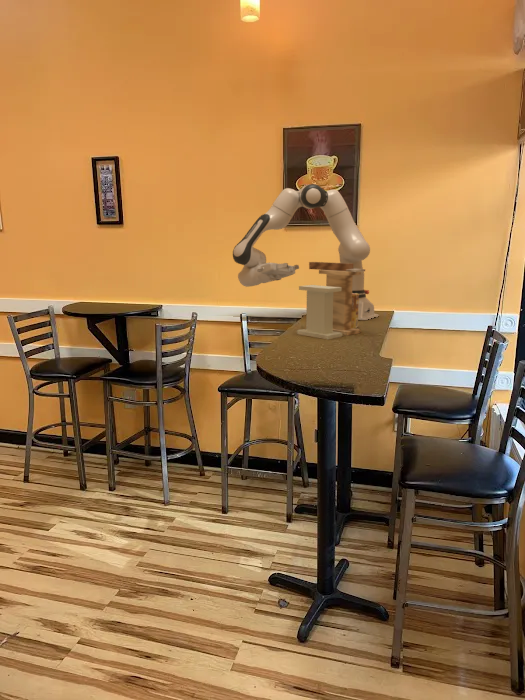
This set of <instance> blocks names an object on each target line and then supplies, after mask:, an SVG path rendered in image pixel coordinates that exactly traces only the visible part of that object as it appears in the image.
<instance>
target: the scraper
mask: <svg viewBox="0 0 525 700" xmlns="http://www.w3.org/2000/svg"><path fill="white" fill-rule="evenodd" d="M308 269H309V270H318V271H319V270H334V271H346V272H363V271H364V272H366V269H364V268H363V269H353V264H351V263H340V262H325V261H324V262H323V261H309V262H308Z"/></svg>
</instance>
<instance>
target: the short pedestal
mask: <svg viewBox="0 0 525 700" xmlns="http://www.w3.org/2000/svg"><path fill="white" fill-rule="evenodd" d="M298 290H300V291H306V317H305V319H306V321H305V322H306V324H305V325H306V328H303V329H302V328H301V329H298V330H296V334H297V335H301V336H305V337H306V336H307V337H312V338H316V339H317V338H318V339H324V340H332V339H337V338H341V337H343V335H342V333H340V332H334V331H333V292H339V291H342V287H331V286H326V285H316V284H309V285H308V284H307V285H299V286H298Z"/></svg>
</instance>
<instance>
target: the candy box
mask: <svg viewBox="0 0 525 700" xmlns="http://www.w3.org/2000/svg"><path fill="white" fill-rule="evenodd" d="M358 307H359V294H357V293H352V316H351V328H355V329H358V327H359V320H358Z"/></svg>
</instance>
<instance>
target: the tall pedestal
mask: <svg viewBox="0 0 525 700" xmlns="http://www.w3.org/2000/svg"><path fill="white" fill-rule="evenodd" d="M319 274H321V275H326V277H325V278H326V283H325V284H326V285H325V286H331V287H342V291H339V292H333V331H334V332H340V333H342V336H351V335H356V334H361V331H362V330H361V328H351V316H352V282H353V275H361V272H346V271H334V270H318V275H319Z"/></svg>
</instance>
